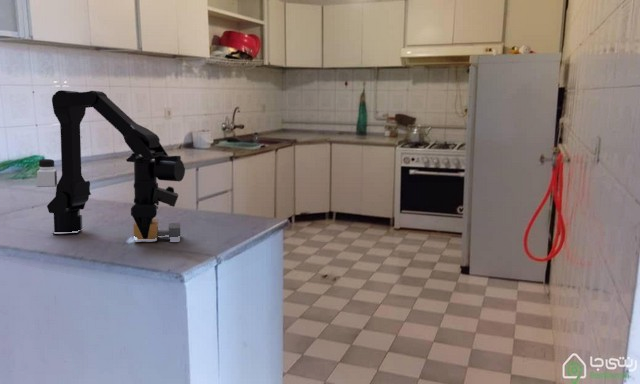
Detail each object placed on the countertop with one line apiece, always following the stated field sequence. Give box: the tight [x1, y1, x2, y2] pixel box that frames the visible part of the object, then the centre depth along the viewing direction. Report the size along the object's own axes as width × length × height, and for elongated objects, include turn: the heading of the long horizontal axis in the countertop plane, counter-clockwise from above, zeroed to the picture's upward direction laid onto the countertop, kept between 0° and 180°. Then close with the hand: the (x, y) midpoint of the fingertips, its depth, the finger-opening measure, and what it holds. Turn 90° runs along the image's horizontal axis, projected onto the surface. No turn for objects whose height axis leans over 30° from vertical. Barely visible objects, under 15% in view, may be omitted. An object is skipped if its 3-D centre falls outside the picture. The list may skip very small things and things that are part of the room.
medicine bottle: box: [36, 158, 58, 188], centre depth 232 cm, size 7×7×12 cm
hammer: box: [157, 222, 181, 239], centre depth 140 cm, size 12×7×4 cm, turn 105°
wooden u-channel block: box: [133, 218, 159, 239], centre depth 140 cm, size 6×6×5 cm
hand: (146, 235), depth 140 cm, fingers closed on wooden u-channel block, 6 cm apart
